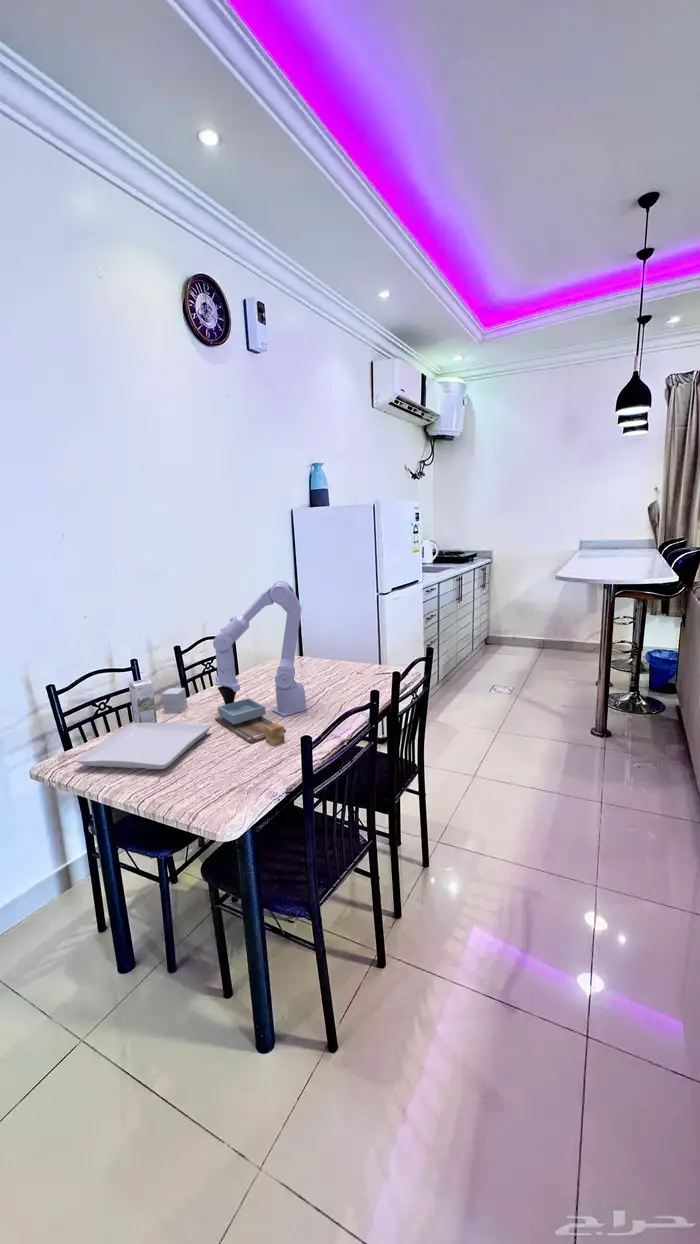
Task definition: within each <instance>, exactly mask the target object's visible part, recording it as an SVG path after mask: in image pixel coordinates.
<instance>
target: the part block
mask: <svg viewBox="0 0 700 1244" xmlns="http://www.w3.org/2000/svg"><path fill="white" fill-rule="evenodd" d="M284 729H285V727H284V725H282V724H281V723H278V722H273V724H270V725H267V726H265V736H266V739H265V743H266V744H268V745H270V746H272V747H275V746H278V745H280V744H283V743H285V742H286V741H285V740H286V739H285V733H284Z"/></svg>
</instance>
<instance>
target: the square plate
mask: <svg viewBox="0 0 700 1244" xmlns="http://www.w3.org/2000/svg"><path fill="white" fill-rule="evenodd" d="M211 728H212V725H211V724H194V723H193V724H192V723H178V722H176V723H175V722H174V723H172V722H157V723H134V722H133V723H131V724H129V725H127V726H125V727H124V728H122V729H120V730H119V731H117V732H116V733H114V734H112V735H111V736H109V737H108V738H106V739H104V740H102V742H100V743H98V744H97V745H96V746H94V747H92V748H91V749H90V750H88V751H87V752H85V753H84V754H82V755H81V756H79V757H78V758H77V759H75V762H76V763H79V764H81V765H84V766H89V767H102V766H104V768H113V767H129V768H128V769H136V768H145V769H144V770H163V769H164V770H165V769H166V768H168V767H169V766H170V765H172V764H173V762H175V761H176V760H177V759H178V758H179V757H180V756H181V755H183V754H184V753H185V752H186V751H188V749H190V747H192V746H193V745H195V743H197V742H198V741H199V740H200V739H202V738H203V737H205V736H206V734H207V733H208V731H209V730H210V729H211ZM107 758H108V760H107ZM103 759H105V760H103Z"/></svg>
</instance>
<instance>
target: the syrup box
mask: <svg viewBox="0 0 700 1244" xmlns="http://www.w3.org/2000/svg"><path fill="white" fill-rule="evenodd" d="M128 689H129V696H130V703H131V709H132V710H131V711H132V718H133V719H132V720H133V723H158V721H157V713H156V712H157V711H156V705H155V697H154V696H155V695H154V687H153V682H152V681H151V680H149V679H147V678H144V679H140V680H136V681H132V682H128Z"/></svg>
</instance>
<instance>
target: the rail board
mask: <svg viewBox="0 0 700 1244" xmlns="http://www.w3.org/2000/svg"><path fill="white" fill-rule="evenodd" d="M214 720H215V722H217V723H218V724H219V725H220V726H222V727H224V728H225V729H227V730H229V731H230V732H232V733H233V734H235V735H236V736H238V737H239V738H241V739H242V740H244V741H245V742H247V743H249V744H250V745H252V744H255V743H257V742H260V741H263V740H266V736H265V726H267V725H270V724H273V723H274V722H272V721H271V720H270V719H267V718H265V717H264V716H263V717H261V718H258V717H257V718H253V719H250V720H247V721H243V722H240V723H237V725H235V726H233V724H232V723H231V722H229V721H228V720H226V719H223V718H222V717H221V716H220V715H218V716H217V717H216V718H214ZM286 732H287V731H286V729H285V728H284V734H285V733H286Z"/></svg>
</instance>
